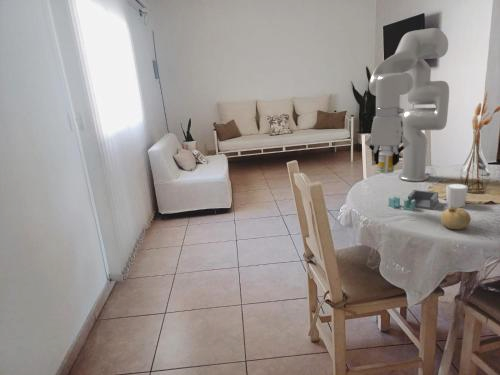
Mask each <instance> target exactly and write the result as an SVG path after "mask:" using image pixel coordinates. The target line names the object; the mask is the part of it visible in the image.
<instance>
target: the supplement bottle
mask: <svg viewBox="0 0 500 375" xmlns="http://www.w3.org/2000/svg"><path fill="white" fill-rule="evenodd" d="M380 149H381V150H379V156H378V164H377V173H379V174H388V175H389V174H392V173H394V170H395V165H393V154H394V149H393V146H380Z"/></svg>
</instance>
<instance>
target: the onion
mask: <svg viewBox="0 0 500 375" xmlns="http://www.w3.org/2000/svg"><path fill="white" fill-rule="evenodd" d="M440 221H441V224H442V226H444V227H446V228H448V229H451V230H464V229H466V228H467V227H468V226H469V225H470V223H471V215H470V213H469V212H468V211H467V210H465V209H464V208H462V207H453V206H448V208H446V209H445V210H443V212H442V213H441V216H440Z"/></svg>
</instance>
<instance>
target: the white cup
mask: <svg viewBox="0 0 500 375" xmlns="http://www.w3.org/2000/svg"><path fill="white" fill-rule="evenodd" d="M445 187H446V188H445V192H446V195H445V197H446V205H447V206H448V207H451V206H453V207H457V208H462V207H465V205H466V199H467V196H468V195H467V194H468V189H469V186H468V185H466V184H463V183H447V184H446V186H445Z"/></svg>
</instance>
